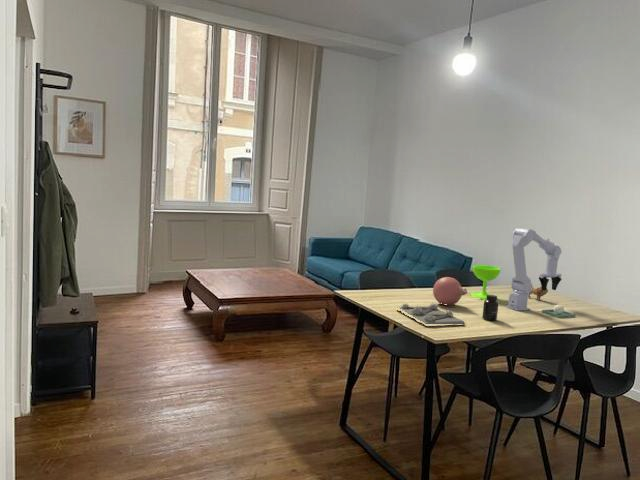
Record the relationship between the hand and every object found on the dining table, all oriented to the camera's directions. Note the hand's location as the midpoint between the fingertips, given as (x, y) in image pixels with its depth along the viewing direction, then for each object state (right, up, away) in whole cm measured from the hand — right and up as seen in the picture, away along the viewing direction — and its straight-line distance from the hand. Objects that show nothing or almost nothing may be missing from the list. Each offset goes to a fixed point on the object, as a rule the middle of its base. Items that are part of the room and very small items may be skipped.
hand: (548, 290), depth 281 cm
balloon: (-59, -8, -11) cm, 60 cm away
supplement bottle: (-45, -11, -34) cm, 58 cm away
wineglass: (-32, -6, +16) cm, 36 cm away
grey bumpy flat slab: (-76, -10, -38) cm, 85 cm away
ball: (-3, -11, -17) cm, 20 cm away
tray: (-3, -11, -17) cm, 20 cm away
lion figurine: (+1, -8, +19) cm, 20 cm away
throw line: (-4, -10, -9) cm, 14 cm away
